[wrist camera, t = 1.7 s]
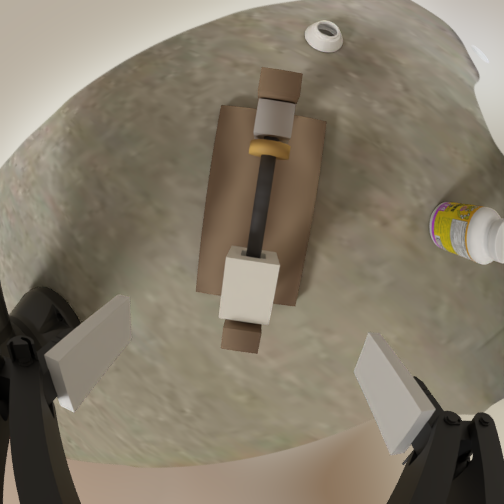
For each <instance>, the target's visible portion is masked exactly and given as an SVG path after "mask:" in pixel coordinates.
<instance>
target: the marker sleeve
mask: <svg viewBox="0 0 504 504" xmlns="http://www.w3.org/2000/svg"><path fill="white" fill-rule="evenodd" d="M246 252H247V248H244V247H237V246H231V248H230V250H229V252H228V254H227V256H226V261H225V269H224V277H223V285H222V293H221V302H220V310H219V318H222V319H229V320H235V321H242V322H249V323H256V324H263V325H269V321H270V316H271V310H272V305H273V300H274V295H275V290H276V284H277V279H278V273H279V268H280V264H279V260H278V257H277V253H276V252H271V251H264V250H262V252H261V258H254V257H247V256H246Z"/></svg>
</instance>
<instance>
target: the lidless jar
mask: <svg viewBox="0 0 504 504" xmlns="http://www.w3.org/2000/svg"><path fill="white" fill-rule="evenodd" d="M318 29H324V30H327V31H329V32H331V33H332V34H333V35H334V36H328V35H326V34H323V33H321V32H320V31H319V30H318ZM305 39H306V40H307V42H308V44H309V45H311V46H312V47H313V48H314V49H317V50H319V51H321V52H335V51H337V50H338V49H340V48H341V46H342V44H343V38H342V35H341V32H340V30H339V28H338V26H337V25H336V24H334V23H333V22H331V21H327V20H322V21H319V22H316V23H314V24H312V25H310V26H309V27H307V29H306V31H305Z"/></svg>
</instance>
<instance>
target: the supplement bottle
mask: <svg viewBox="0 0 504 504" xmlns="http://www.w3.org/2000/svg"><path fill="white" fill-rule="evenodd" d="M429 229H430V235H431V238H432V240H433V242H434V243H435V244H436V245H437V246H438V247H439V248H442V249H444V250H446V251H449V252H452V253H454V254H457V255H459V256H462V257H464V258H467V259H469V260H472V261H474V262H477V263H479V264H489V263H491V262H492V261H497V262H500V263H504V219H503V218H501V217H500V216H499V214H498V213H497V212H496V211H495V210H494V209H492V208H489V207H482V206H476V205H469V204H461V203H453V202H444V203H441V204H439V205H438V206H437V207H436V208H435V209H434V211H433V213H432V215H431V218H430V224H429Z"/></svg>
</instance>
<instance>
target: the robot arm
mask: <svg viewBox="0 0 504 504" xmlns="http://www.w3.org/2000/svg"><path fill="white" fill-rule="evenodd" d="M131 340H132V334H131V311H130V297H129V296H124V295H120V294H118V295H116V296H115V297H114V298H113V299H111V300H110V301H109V302H107V303H106V304H105V305H104V306H102V307H101V308H100V309H99V310H97V311H96V312H95V313H94V314H92V315H91V316H90V317H89V318H87V319H86V320H85V321H84V322H82V323H81V324H80V322H79V320H78V318H77V317H76V315H75V313H74V312H73V310H72V309H71V307H70V306H69V305H68V304H67V302H66V301H65V300H64V299H63V298H62V297H61V296H60V295H58V294H57V293H56V292H54V291H53V290H51V289H48V288H45V287H37V288H34V289H32V290H31V291H29V292H27V293H26V294H25V295H24V296H23V297H22V299H21V300H20V301H19V303H18V304H17V305H16V306H15V308H14V309H13V310H12V312H11V313H10V315H8V311H7V308H6V304H5V300H4V296H3V292H2V287H1V282H0V504H3V485H4V473H5V464H6V457H7V450H8V444H9V439H10V443H11V455H12V463H13V470H14V476H15V482H16V487H17V492H18V496H19V501H20V504H81V502H80V500H79V497H78V495H77V492H76V489H75V486H74V483H73V481H72V477H71V474H70V471H69V468H68V464H67V461H66V457H65V453H64V449H63V445H62V441H61V437H60V432H59V427H58V422H57V417H56V411H55V406H54V403H53V400H54V399H55V398H56V397H58V400H59V402H60V405H61V406H62V407H64V408H66V409H68V410H70V411H72V412H75V411H76V410H77V409H78V407H79V406H80V405H81V403H82V402H83V401H84V399H85V398H86V397H87V395H88V394H89V393H90V391H91V390H92V389H93V388H94V386H95V385H96V384H97V382H98V381H99V380H100V379H101V377H102V376H103V375H104V374H105V372H106V371H107V370H108V368H109V367H110V366H111V365H112V363H113V362H114V361H115V360H116V358H117V357H118V356H119V355H120V353H121V352H122V351H123V350H124V348H125V347H126V346H127V345H128V344H129V342H130V341H131ZM354 374H355V376H356V378H357V380H358V382H359V384H360V387H361V389H362V391H363V393H364V395H365V398H366V400H367V402H368V404H369V407H370V409H371V411H372V413H373V416H374V418H375V420H376V422H377V425H378V427H379V429H380V432H381V434H382V436H383V439H384V441H385V443H386V446H387V448H388V450H389V453H390V455H395V454H400V453H404V452H405V451H406V450H407V449H408V448H409V446H410V445H411V444H412V446H413V448H414V450H413V451H412V453H411V454H410V455H409V456H408V457H407V458H406V460H405V461H404V462H403V463H402V464H403V465H404V464H405V463H406V462H407V463H406V465H405V468H404V470H403V472H402V474H401V476H400V479H399V481H398V483H397V485H396V487H395V489H394V491H393V493H392V495H391V496H390V499H389V500H388V502H387V504H504V459H503V454H502V449H501V445H500V441H499V437H498V433H497V430H496V426H495V423H494V421H493V419H492V418H491V417H490V416H489V415H488V414H486V413H477V414H476V415H475V416H474V418H473V419H472V421H462V420H461V418H460V417H459V416H458V415H457V414H456V413H454V412H451V411H443V409H442V408H441V406H440V405H439V404H438V402H437V401H436V399H435V398H434V397H433V395H431V393H430V391H429V390H427V387H426V386H425V384H424V383H423V382H422V381H421V380H420V379H418V378H417V377H416V376H414V377H413V376H412V375H411V373H410V372H409V371H408V369H407V368H406V367H405V365H404V364H403V363H402V361H401V360H400V359H399V357H398V356H397V355H396V353H395V352H394V351H393V349H392V348H391V347H390V345H389V344H388V343H387V341H386V340H385V339H384V337H383V336H382V335H381V334H380V333H375V332H368V335H367V338H366V340H365V343H364V346H363V349H362V351H361V354H360V357H359V359H358V362H357V364H356V367H355V369H354ZM472 454H473V458H472V460H471V461H470V456H471V455H472Z"/></svg>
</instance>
